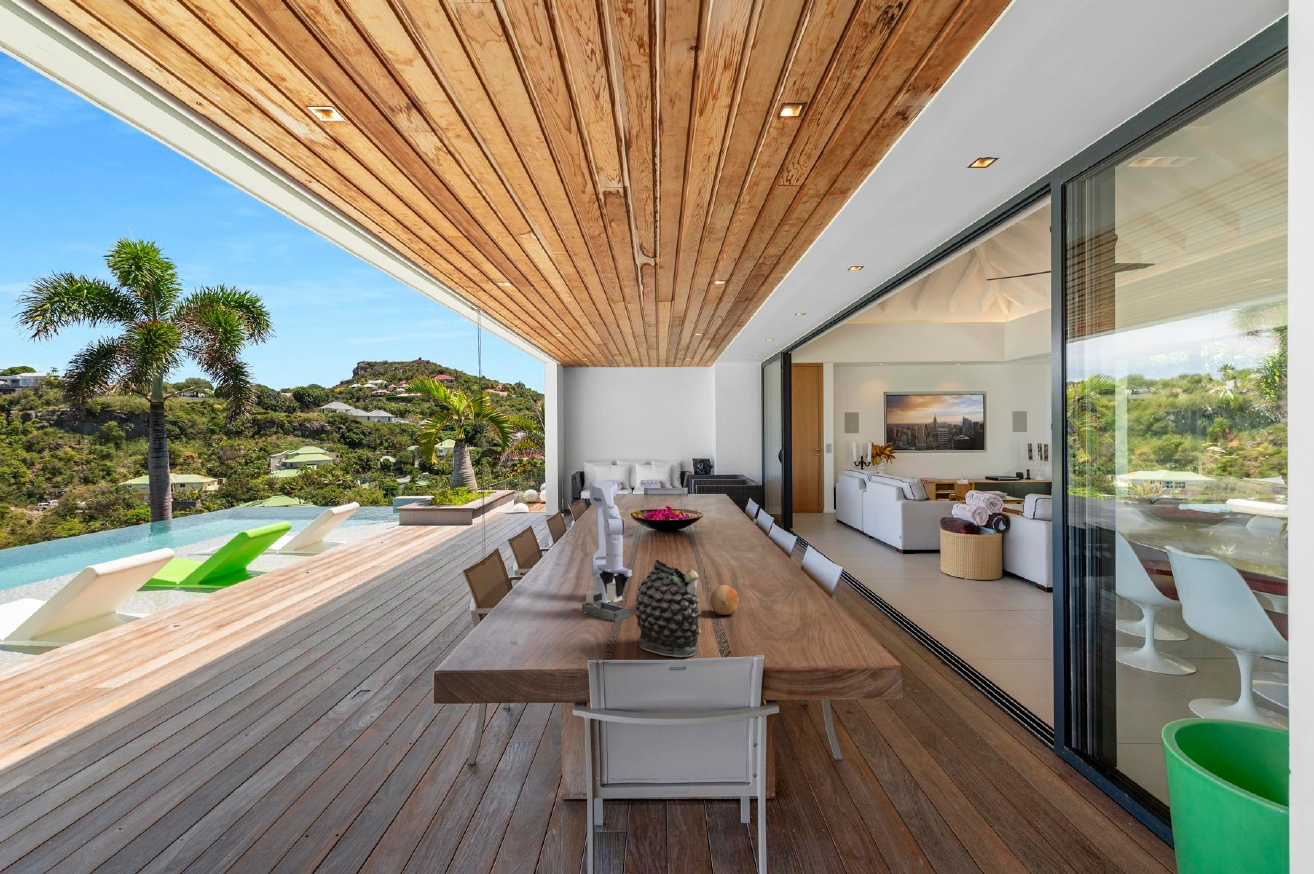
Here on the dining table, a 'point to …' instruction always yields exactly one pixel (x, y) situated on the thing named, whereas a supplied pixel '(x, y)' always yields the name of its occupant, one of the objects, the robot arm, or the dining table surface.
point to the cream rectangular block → (612, 592)
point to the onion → (724, 600)
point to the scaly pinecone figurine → (668, 611)
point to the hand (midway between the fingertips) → (614, 594)
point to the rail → (603, 607)
